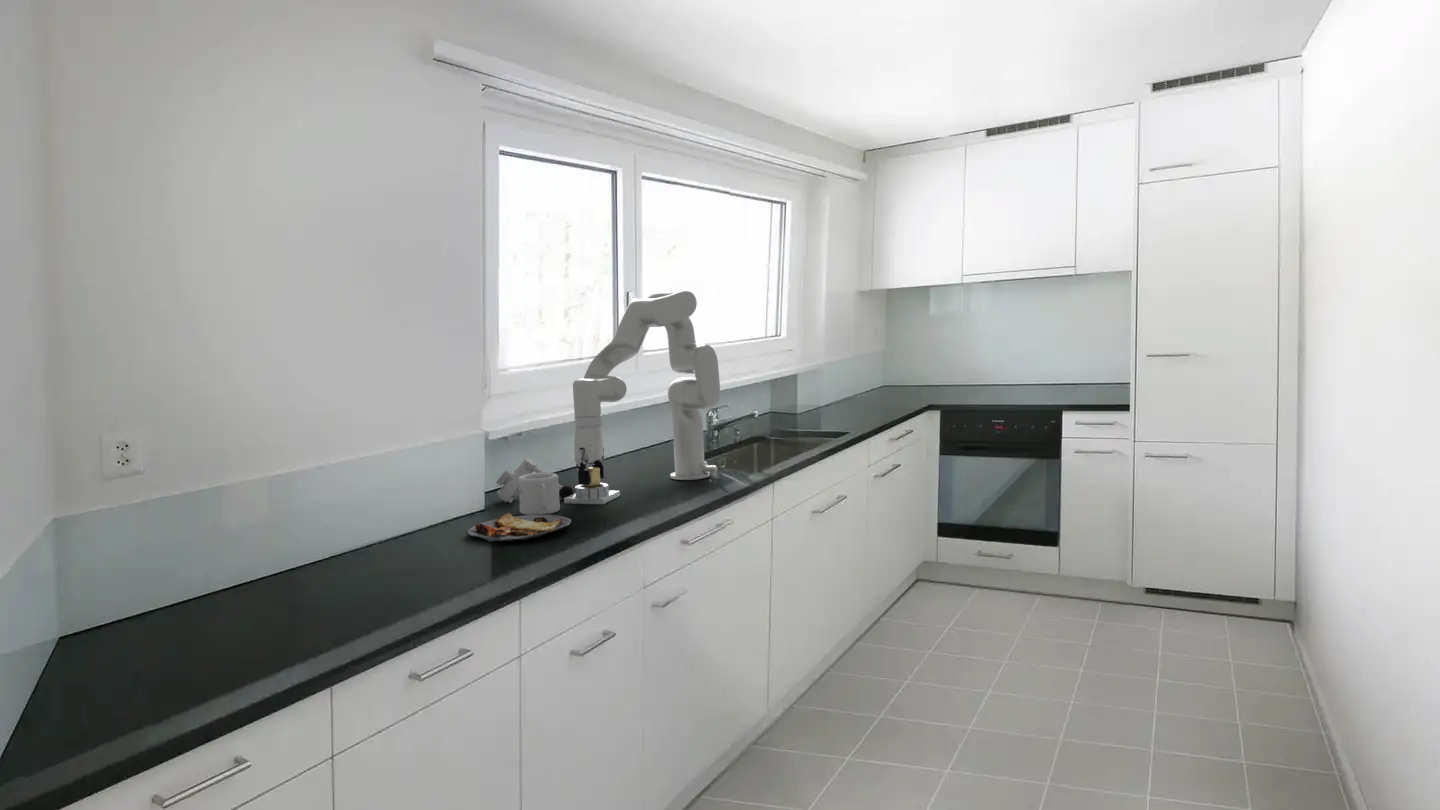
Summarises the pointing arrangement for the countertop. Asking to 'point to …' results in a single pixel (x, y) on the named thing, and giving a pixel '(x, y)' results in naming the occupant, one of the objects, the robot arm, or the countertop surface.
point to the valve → (512, 486)
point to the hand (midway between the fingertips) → (591, 481)
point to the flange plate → (592, 500)
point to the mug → (538, 493)
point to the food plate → (518, 527)
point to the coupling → (593, 477)
